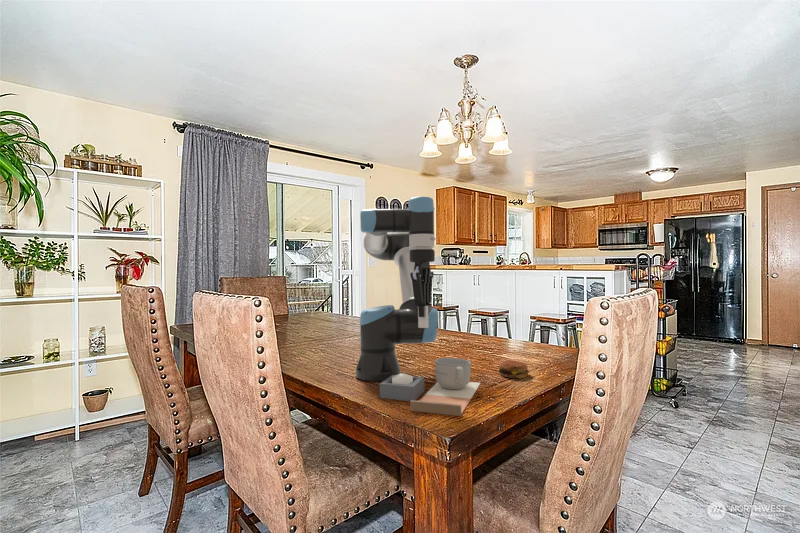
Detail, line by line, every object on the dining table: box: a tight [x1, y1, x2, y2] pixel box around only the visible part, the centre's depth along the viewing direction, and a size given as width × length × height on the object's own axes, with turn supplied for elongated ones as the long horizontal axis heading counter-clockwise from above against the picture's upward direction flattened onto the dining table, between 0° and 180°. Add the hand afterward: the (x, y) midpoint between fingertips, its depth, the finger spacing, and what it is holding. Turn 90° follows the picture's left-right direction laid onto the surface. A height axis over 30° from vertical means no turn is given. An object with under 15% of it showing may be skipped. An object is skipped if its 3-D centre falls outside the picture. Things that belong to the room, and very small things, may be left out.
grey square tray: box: [379, 375, 425, 402], centre depth 120 cm, size 10×10×4 cm
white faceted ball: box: [392, 372, 414, 385], centre depth 120 cm, size 6×6×6 cm
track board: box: [409, 381, 481, 417], centre depth 118 cm, size 13×29×2 cm, turn 160°
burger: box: [498, 359, 529, 379], centre depth 138 cm, size 10×9×5 cm
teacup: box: [434, 357, 472, 389], centre depth 124 cm, size 14×11×8 cm
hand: (423, 327), depth 125 cm, fingers closed
